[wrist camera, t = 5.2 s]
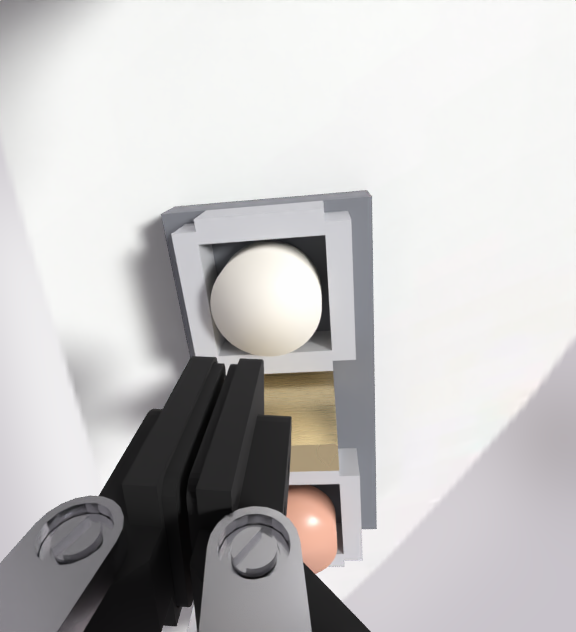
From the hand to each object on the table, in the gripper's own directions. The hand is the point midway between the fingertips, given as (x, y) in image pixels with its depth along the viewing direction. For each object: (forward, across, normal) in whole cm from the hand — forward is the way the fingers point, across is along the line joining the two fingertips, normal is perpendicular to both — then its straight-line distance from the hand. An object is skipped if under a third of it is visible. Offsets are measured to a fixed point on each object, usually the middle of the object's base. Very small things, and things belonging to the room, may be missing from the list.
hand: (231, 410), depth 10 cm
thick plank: (+10, -1, +5) cm, 11 cm away
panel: (+12, -1, +6) cm, 13 cm away
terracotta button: (+8, -1, +13) cm, 15 cm away
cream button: (+9, 0, 0) cm, 9 cm away
